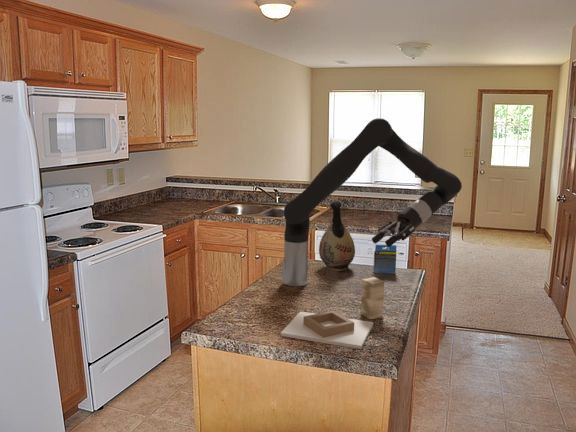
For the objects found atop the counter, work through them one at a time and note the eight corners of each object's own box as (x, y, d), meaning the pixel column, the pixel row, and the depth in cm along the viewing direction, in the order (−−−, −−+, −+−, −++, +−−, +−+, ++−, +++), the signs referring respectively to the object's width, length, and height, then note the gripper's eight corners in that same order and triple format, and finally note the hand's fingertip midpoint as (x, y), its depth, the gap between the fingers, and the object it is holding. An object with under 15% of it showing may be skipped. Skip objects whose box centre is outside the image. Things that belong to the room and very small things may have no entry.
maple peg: (360, 314, 166) (362, 279, 164) (372, 311, 169) (374, 277, 167) (370, 319, 162) (372, 283, 160) (382, 316, 165) (384, 281, 162)
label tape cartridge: (394, 271, 215) (395, 243, 212) (395, 274, 211) (397, 245, 208) (373, 270, 215) (374, 242, 213) (373, 273, 212) (375, 244, 209)
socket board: (280, 335, 149) (281, 324, 148) (300, 314, 165) (300, 304, 165) (361, 349, 141) (361, 337, 140) (373, 325, 157) (373, 314, 157)
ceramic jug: (317, 263, 225) (319, 196, 220) (352, 263, 225) (355, 197, 219) (319, 274, 209) (320, 203, 203) (356, 275, 208) (359, 203, 203)
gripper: (397, 205, 178) (363, 231, 173) (422, 207, 164) (386, 236, 160) (407, 222, 180) (374, 249, 175) (432, 226, 166) (397, 255, 162)
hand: (379, 243), depth 168 cm, fingers open, 8 cm apart
